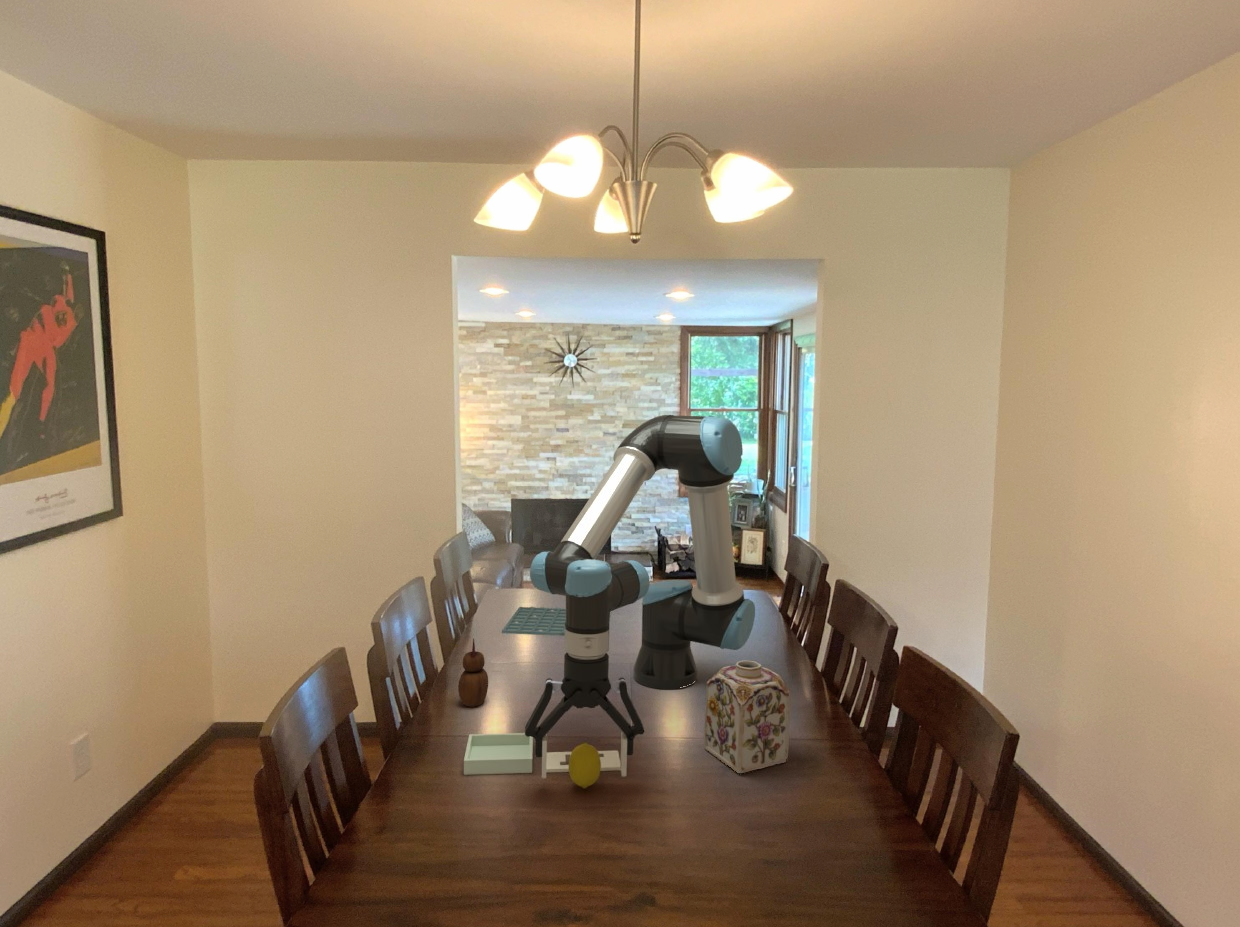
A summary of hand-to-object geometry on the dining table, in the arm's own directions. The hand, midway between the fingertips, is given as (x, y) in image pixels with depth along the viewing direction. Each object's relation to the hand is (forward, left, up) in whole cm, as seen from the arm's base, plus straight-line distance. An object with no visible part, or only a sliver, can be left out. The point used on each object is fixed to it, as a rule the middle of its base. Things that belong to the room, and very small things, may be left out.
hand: (583, 773), depth 133 cm
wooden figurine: (+22, -37, -3) cm, 43 cm away
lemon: (0, 0, -3) cm, 3 cm away
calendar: (+2, -96, -4) cm, 96 cm away
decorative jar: (-31, -10, -3) cm, 33 cm away
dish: (+15, -11, -3) cm, 19 cm away
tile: (0, -9, -3) cm, 10 cm away
